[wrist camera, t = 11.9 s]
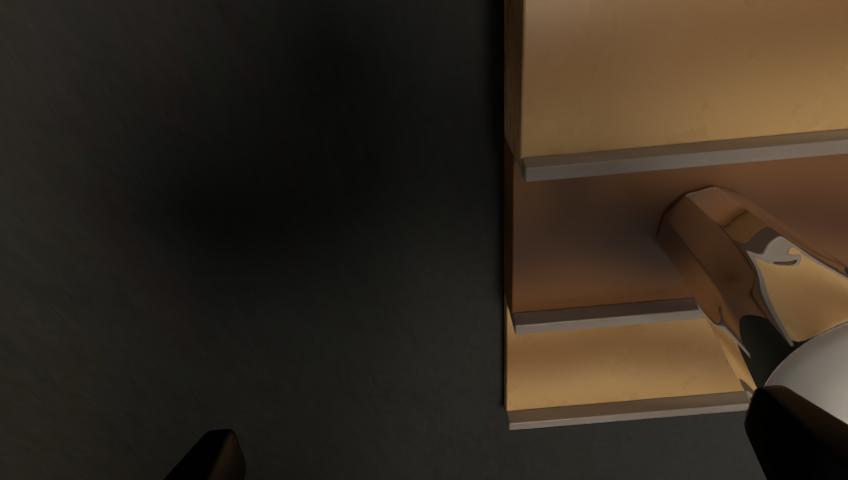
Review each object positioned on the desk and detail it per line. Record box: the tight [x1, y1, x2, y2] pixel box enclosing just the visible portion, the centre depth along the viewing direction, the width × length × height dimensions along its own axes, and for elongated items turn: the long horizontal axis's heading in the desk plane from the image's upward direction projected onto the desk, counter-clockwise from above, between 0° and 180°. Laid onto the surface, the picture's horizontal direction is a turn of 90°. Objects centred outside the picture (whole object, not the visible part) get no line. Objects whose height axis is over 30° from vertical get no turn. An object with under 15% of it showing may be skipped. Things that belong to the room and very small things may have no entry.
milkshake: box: [657, 186, 848, 424], centre depth 16 cm, size 4×5×10 cm
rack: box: [504, 0, 848, 430], centre depth 20 cm, size 22×14×4 cm, turn 5°
